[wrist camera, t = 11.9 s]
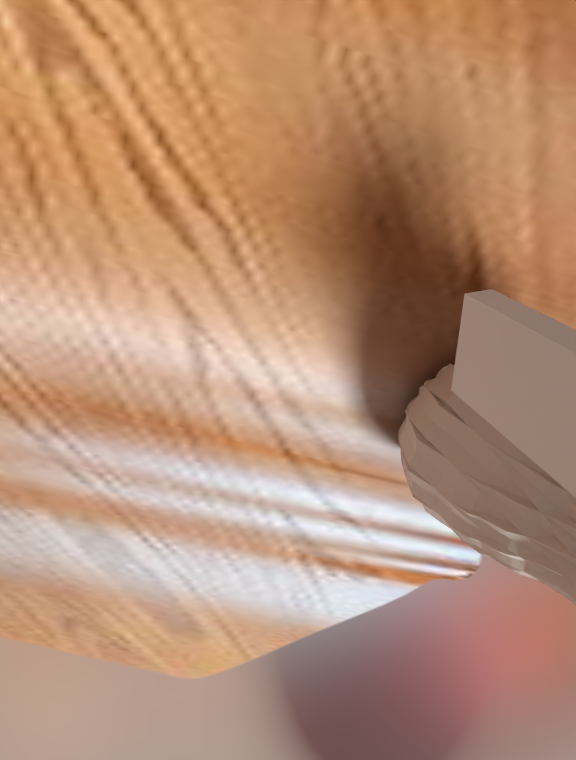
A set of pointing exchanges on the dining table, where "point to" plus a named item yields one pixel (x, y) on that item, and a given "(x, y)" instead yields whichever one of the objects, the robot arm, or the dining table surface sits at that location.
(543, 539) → the vase
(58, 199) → the dining table surface
